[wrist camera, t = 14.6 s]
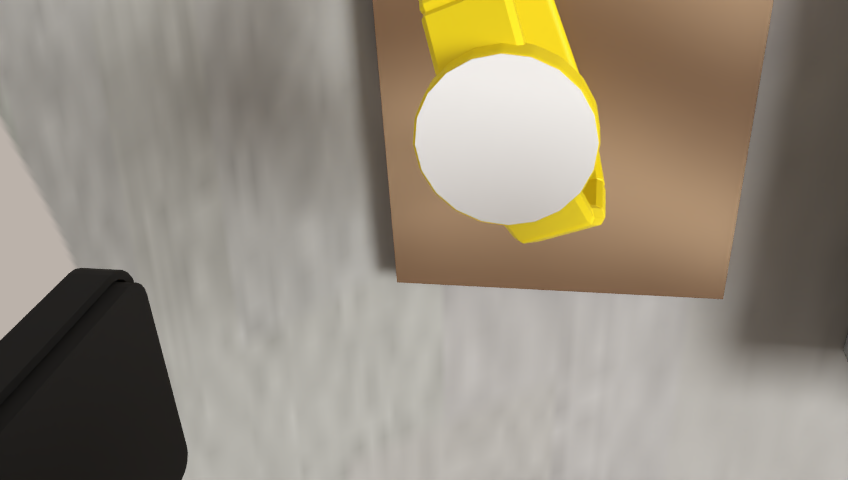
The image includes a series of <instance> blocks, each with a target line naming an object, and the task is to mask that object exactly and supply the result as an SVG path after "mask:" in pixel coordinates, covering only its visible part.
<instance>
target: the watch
mask: <svg viewBox="0 0 848 480" xmlns="http://www.w3.org/2000/svg"><path fill="white" fill-rule="evenodd" d="M419 9H420V11H421V13H422V14H423V18H422V24H423V28H424V32H425V35H426V39H427V43H428V47H429V51H430V55H431V58H432V62H433V66H434V70H435V74H436V76H435V77H434V78H433V80H432V81H431V83H430V85H429V87H428V88H427V90H426V92H425V94H424V96H423V99H422V101H421V103H420V106H419V108H418V110H417V113H416V115H415V120H414V134H413V146H414V150H415V154H416V157H417V161H418V165H419V168H420V171H421V173H422V174H423V176H424V177H425V179H426V180H427V182H428V184H429V185H430V187H431V188H432V190H433V191H434V192H435V194H436V195H438V196H439V197H440V198H441V199H442V200H443V201H445V202H446V203H447V204H448V205H449V206H451V207H452V208H453V209H454V210H456V211H457V212H460V213H462V214H464V215H466V216H469V217H471V218H473V219H475V220H477V221H480V222H485V223H492V224H498V225H504V226H505V227H506V228H507V230H508V231H509V232H510V234H511V235H512V236H513V237H514V238H515V239H517V240H518V241H520V242H521V243H523V244H524V243H532V242H539V241H543V240H546V239H550V238H554V237H558V236H561V235H565V234H569V233H572V232H576V231H580V230H584V229H587V228H591V227H595V226H599V225H601V224H602V222H603V221H604V219H605V204H606V190H605V187H604V185H605V182H604V176H603V170H602V165H601V159H600V153H599V148H600V123H599V116H598V110H597V104H596V101H595V99H594V97H593V95H592V93H591V91H590V89H589V87H588V86H587V84H586V82H585V80H584V78H583V77H582V76H581V75H580V74H579V71H578V68H577V65H576V62H575V59H574V57H573V54H572V51H571V48H570V45H569V42H568V39H567V36H566V33H565V30H564V28H563V25H562V22H561V19H560V16H559V13H558V10H557V7H556V4H555V1H554V0H419Z"/></svg>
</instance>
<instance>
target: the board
mask: <svg viewBox="0 0 848 480" xmlns="http://www.w3.org/2000/svg"><path fill="white" fill-rule="evenodd" d="M372 1H373V12H374V24H375V35H376V46H377V58H378V69H379V81H380V92H381V104H382V115H383V127H384V138H385V149H386V161H387V172H388V184H389V195H390V207H391V218H392V229H393V241H394V252H395V264H396V275H397V282H403V283H422V284H441V285H461V286H480V287H499V288H519V289H538V290H557V291H576V292H596V293H615V294H634V295H654V296H673V297H692V298H711V299H723V296H724V290H725V284H726V278H727V272H728V267H729V261H730V255H731V249H732V243H733V237H734V231H735V225H736V219H737V213H738V207H739V201H740V196H741V190H742V184H743V178H744V172H745V166H746V160H747V154H748V148H749V142H750V136H751V131H752V125H753V119H754V113H755V107H756V101H757V95H758V89H759V83H760V77H761V71H762V65H763V60H764V54H765V48H766V42H767V36H768V30H769V24H770V18H771V12H772V6H773V0H554V1H555V4H556V7H557V10H558V13H559V16H560V19H561V22H562V25H563V28H564V30H565V33H566V36H567V39H568V42H569V45H570V48H571V51H572V54H573V57H574V59H575V62H576V65H577V68H578V71H579V74H580V75H581V76H582V77H583V78H584V80H585V82H586V84H587V86H588V87H589V89H590V91H591V93H592V95H593V97H594V99H595V101H596V104H597V110H598V116H599V123H600V148H599V153H600V159H601V165H602V170H603V176H604V182H605V185H604V187H605V190H606V204H605V219H604V221H603V222H602V224H601V225H599V226H595V227H591V228H587V229H584V230H580V231H576V232H572V233H569V234H565V235H561V236H558V237H554V238H550V239H546V240H543V241H539V242H532V243H524V244H523V243H521V242H520V241H518V240H517V239H515V238H514V237H513V236H512V235H511V234H510V232H509V231H508V230H507V228H506V227H505V226H504V225H498V224H492V223H485V222H480V221H477V220H475V219H473V218H471V217H469V216H466V215H464V214H462V213H460V212H457V211H456V210H454V209H453V208H452V207H451V206H449V205H448V204H447V203H446V202H445V201H443V200H442V199H441V198H440V197H439V196H438V195H436V194H435V192H434V191H433V190H432V188H431V187H430V185H429V184H428V182H427V180H426V179H425V177H424V176H423V174H422V173H421V171H420V168H419V165H418V161H417V157H416V154H415V150H414V146H413V134H414V120H415V115H416V113H417V110H418V108H419V106H420V103H421V101H422V99H423V96H424V94H425V92H426V90H427V88H428V87H429V85H430V83H431V81H432V80H433V78H434V77H435V76H436V74H435V70H434V66H433V62H432V58H431V55H430V51H429V47H428V43H427V39H426V35H425V32H424V28H423V24H422V18H423V14H422V13H421V11H420V9H419V0H372Z"/></svg>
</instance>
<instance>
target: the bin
mask: <svg viewBox="0 0 848 480" xmlns="http://www.w3.org/2000/svg"><path fill="white" fill-rule="evenodd" d="M843 351H844V353H845V356H846V358H847V361H848V335H847V339H846V342H845V346H844V350H843Z"/></svg>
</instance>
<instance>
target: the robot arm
mask: <svg viewBox="0 0 848 480" xmlns="http://www.w3.org/2000/svg"><path fill="white" fill-rule="evenodd" d="M187 456H188V451H187V445H186V441H185V438H184V434H183V430H182V426H181V422H180V419H179V415H178V411H177V407H176V403H175V399H174V396H173V392H172V388H171V384H170V380H169V377H168V373H167V369H166V365H165V361H164V358H163V354H162V350H161V346H160V342H159V338H158V335H157V331H156V327H155V323H154V319H153V316H152V312H151V308H150V304H149V300H148V296H147V293H146V291H145V288H144V287H143V286H142V285H141V284H139V283H134V281H133V278H132V277H131V276H130V275H129V273H128V272H125V271H123V270H111V269H91V268H79V269H75V270H73V271H72V272H70V273H69V274H68V275H67V276H66V277H65V278H64V279H63V280H62V281H61V282H60V283H59V284H58V285H57V286H56V287H55V288H54V289H53V290H52V291H51V292H50V293H48V294H47V295H46V297H44V298H43V299H42V300H41V301H40V302H39V303H38V304H37V305H36V306H35V307H34V308H33V309H32V310H31V311H30V312H29V313H28V314H27V315H26V316H25V317H24V318H23V319H22V320H21V321H20V322H19V323H18V324H17V325H16V326H15V327H14V328H13V329H12V330H11V331H10V332H9V333H8V334H7V335H6V336H5V337H3V339H2V340H0V480H182V477H183V475H184V473H185V469H186V465H187Z"/></svg>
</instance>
